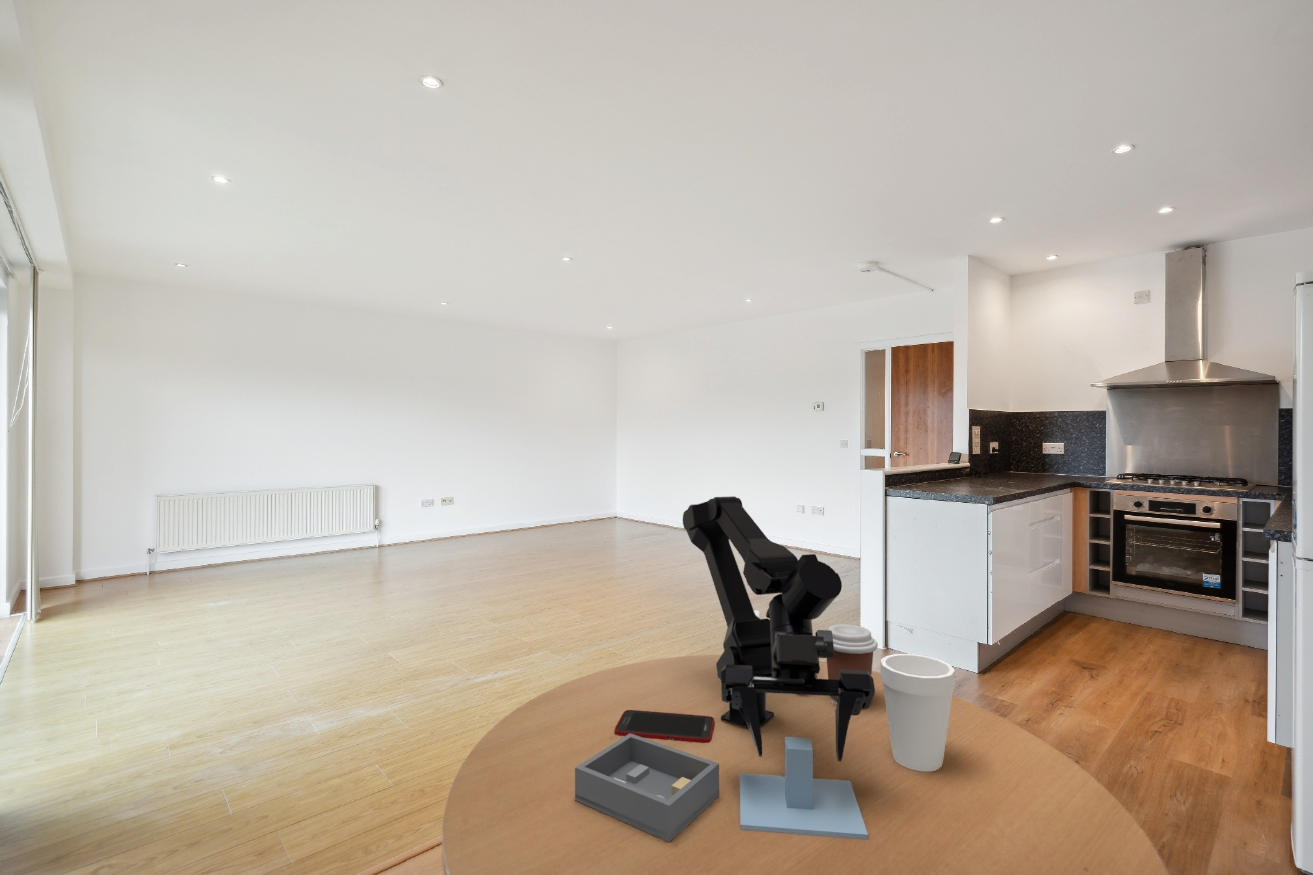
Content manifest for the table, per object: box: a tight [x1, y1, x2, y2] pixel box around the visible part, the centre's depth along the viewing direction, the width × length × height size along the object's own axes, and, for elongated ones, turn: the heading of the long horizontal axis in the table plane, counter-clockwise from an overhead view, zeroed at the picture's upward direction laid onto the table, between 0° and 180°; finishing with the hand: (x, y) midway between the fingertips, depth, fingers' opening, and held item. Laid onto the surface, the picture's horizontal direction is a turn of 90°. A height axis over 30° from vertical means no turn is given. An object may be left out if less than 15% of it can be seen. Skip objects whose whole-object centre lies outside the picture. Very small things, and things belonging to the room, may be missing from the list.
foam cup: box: [880, 653, 956, 772], centre depth 86 cm, size 10×9×13 cm
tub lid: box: [739, 736, 869, 840], centre depth 75 cm, size 11×14×8 cm
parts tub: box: [574, 733, 720, 843], centre depth 77 cm, size 11×14×4 cm
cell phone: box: [613, 709, 716, 744], centre depth 96 cm, size 8×15×1 cm, turn 80°
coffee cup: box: [826, 623, 879, 706], centre depth 106 cm, size 9×9×12 cm
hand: (800, 757), depth 74 cm, fingers open, 9 cm apart
